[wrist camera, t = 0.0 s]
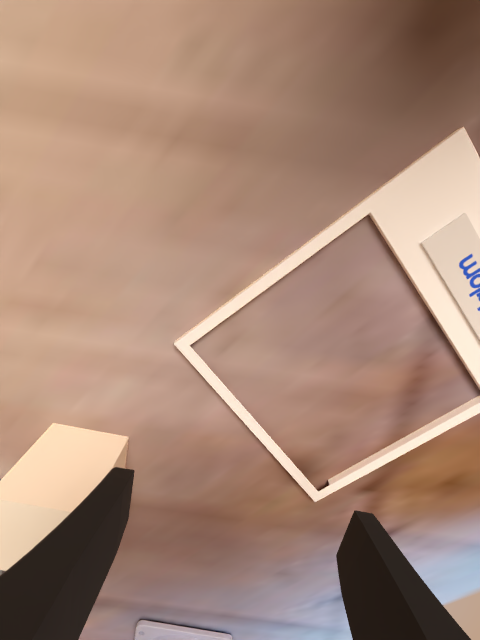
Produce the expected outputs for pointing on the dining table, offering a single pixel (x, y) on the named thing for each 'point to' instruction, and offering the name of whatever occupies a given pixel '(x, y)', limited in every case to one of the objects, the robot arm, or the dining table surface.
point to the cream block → (52, 484)
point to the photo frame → (420, 266)
